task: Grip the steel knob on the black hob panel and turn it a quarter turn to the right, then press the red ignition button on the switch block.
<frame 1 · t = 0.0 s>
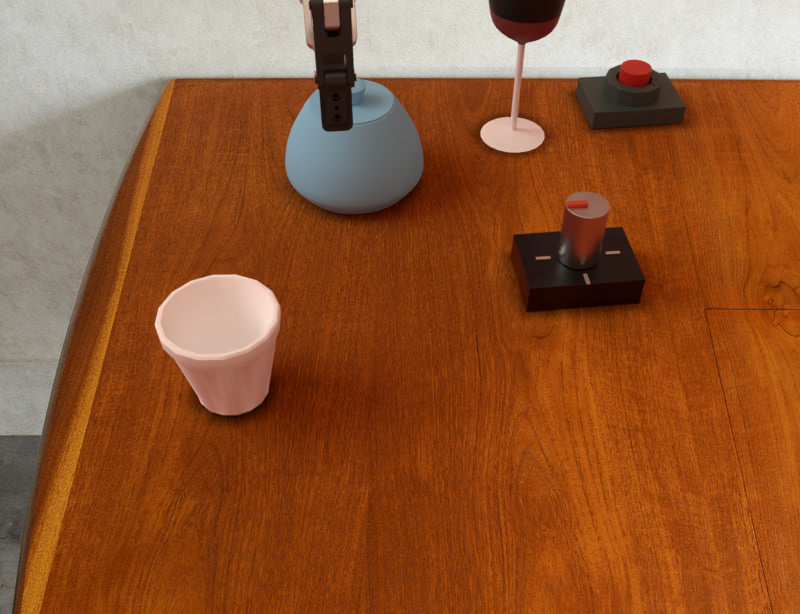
hand: (333, 97, 66), 23 cm above the table, tool pointing down, fingers open, 8 cm apart
knob: (582, 229, 83), point 6 cm above the table, hinge at 0.0°
switch block: (627, 108, 108), on the table
cup: (234, 392, 78), on the table
wineglass: (512, 135, 105), on the table
button: (634, 73, 105), point 4 cm above the table, slide at 0.1 cm
sugar bowl: (355, 181, 99), on the table
hob panel: (573, 280, 88), on the table
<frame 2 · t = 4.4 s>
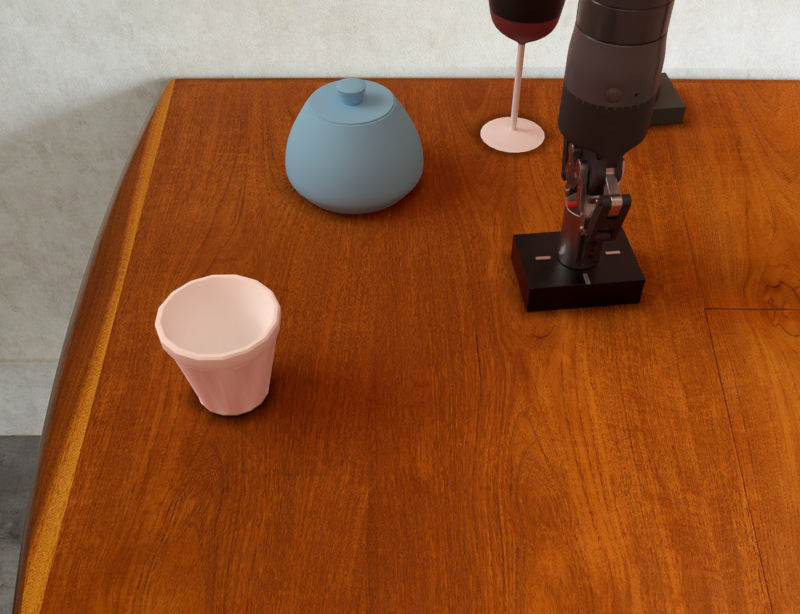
hand: (579, 245, 85), 4 cm above the table, tool pointing down, fingers closed on knob, 4 cm apart
knob: (582, 229, 83), point 6 cm above the table, hinge at 0.1°, touching gripper
everything else where it was.
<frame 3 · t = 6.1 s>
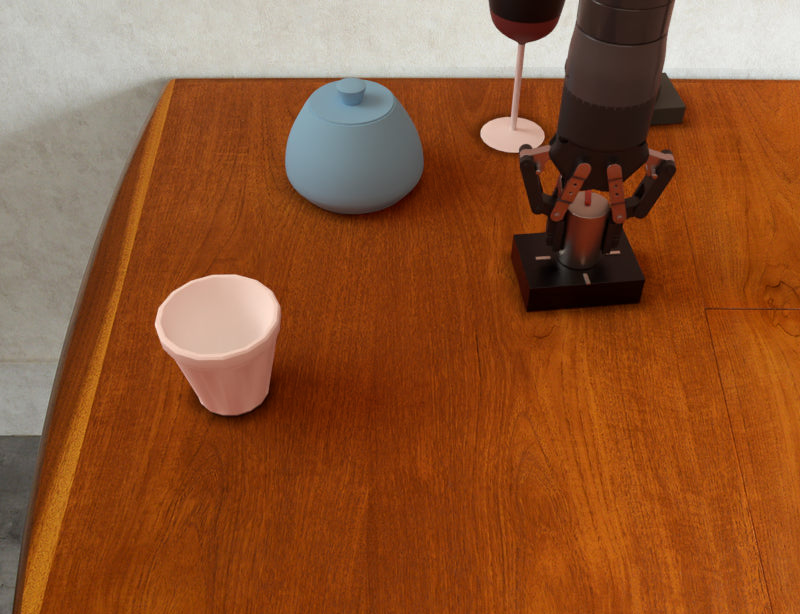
hand: (580, 246, 85), 4 cm above the table, tool pointing down, fingers closed on knob, 4 cm apart
knob: (582, 229, 83), point 6 cm above the table, hinge at -105.4°, touching gripper
everything else where it was.
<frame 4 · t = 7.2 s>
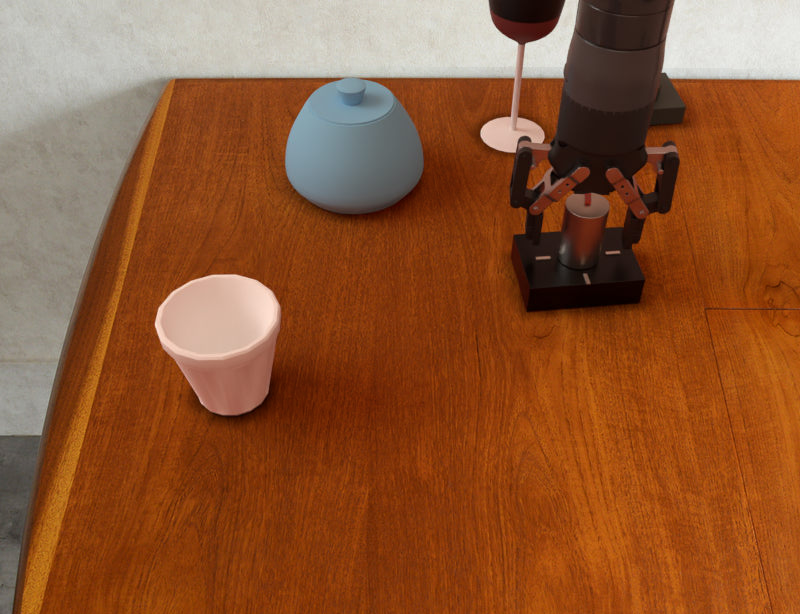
hand: (580, 242, 84), 5 cm above the table, tool pointing down, fingers open, 8 cm apart
knob: (582, 229, 83), point 6 cm above the table, hinge at -104.2°
everything else where it was.
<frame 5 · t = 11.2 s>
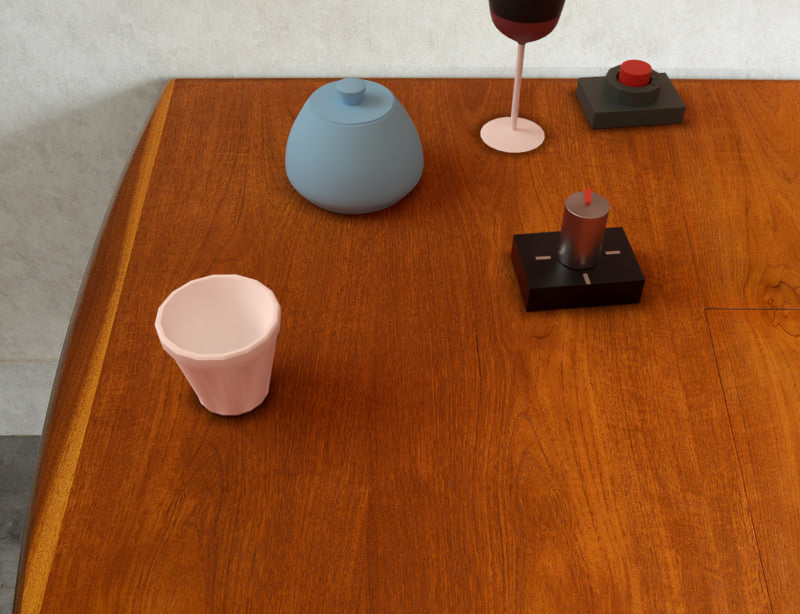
nothing on the table moved.
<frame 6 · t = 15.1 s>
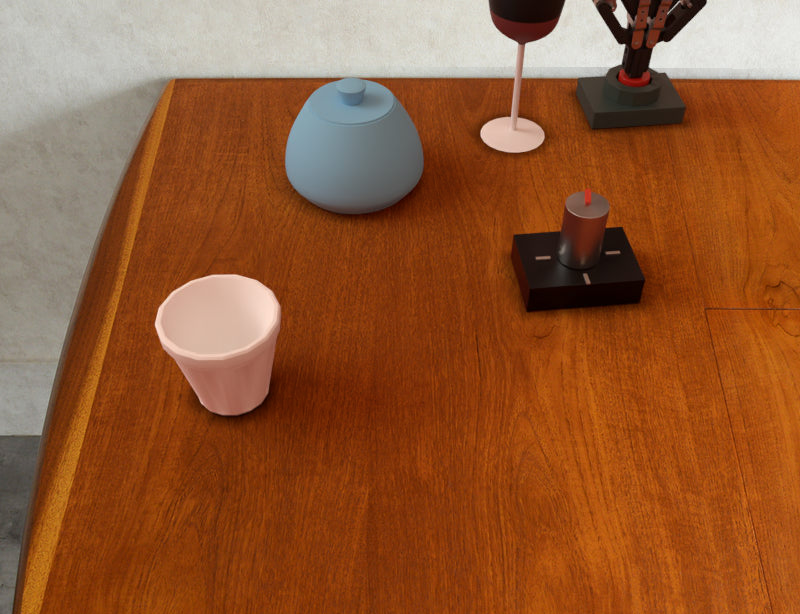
hand: (633, 74, 105), 4 cm above the table, tool pointing down, fingers closed
button: (633, 80, 106), point 4 cm above the table, slide at -0.8 cm, touching gripper
everything else where it was.
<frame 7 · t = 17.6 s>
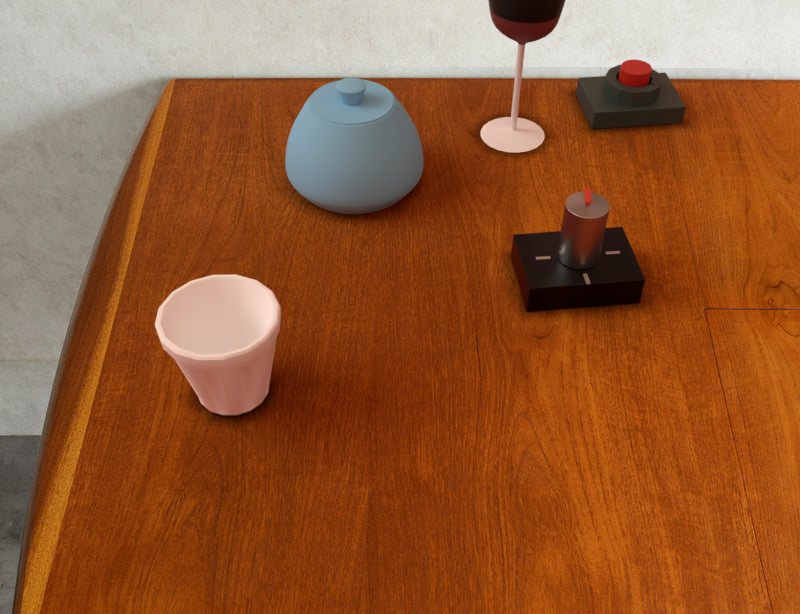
button: (634, 73, 105), point 4 cm above the table, slide at 0.1 cm
everything else where it was.
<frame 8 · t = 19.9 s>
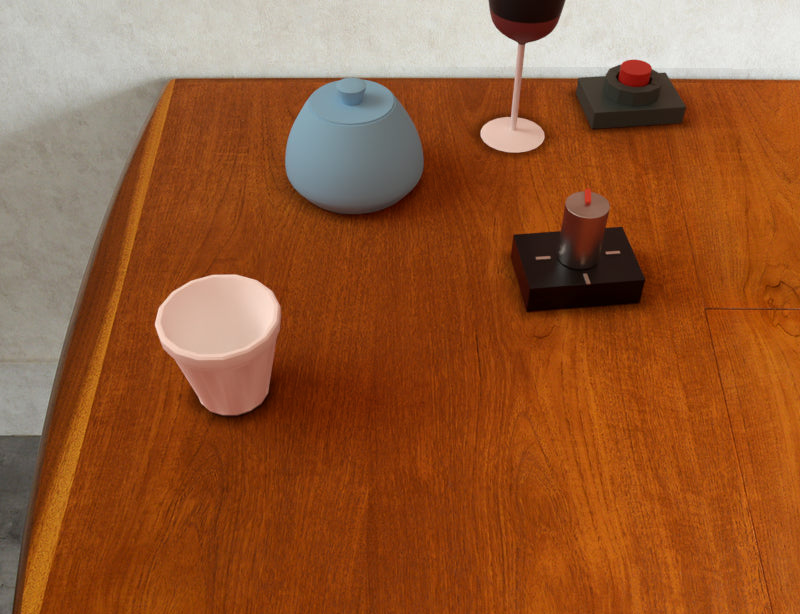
nothing on the table moved.
at the end: knob at -104° (first picture: +0°); button pushed in 1.1 cm at the most during the clip, back to where it started at the end; button slide at 0.1 cm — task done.
